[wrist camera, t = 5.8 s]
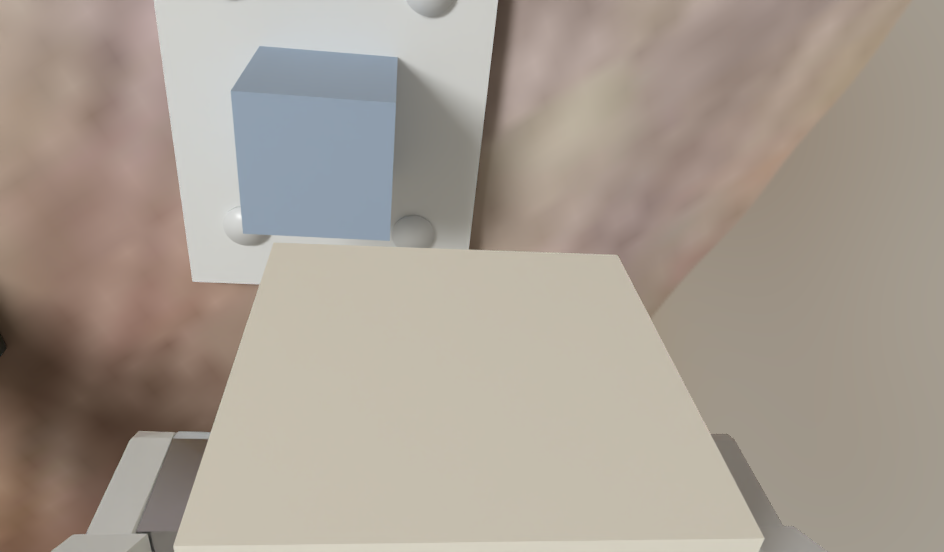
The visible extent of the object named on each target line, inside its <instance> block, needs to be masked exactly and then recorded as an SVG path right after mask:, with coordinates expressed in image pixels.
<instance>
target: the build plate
mask: <svg viewBox="0 0 944 552" xmlns="http://www.w3.org/2000/svg"><path fill="white" fill-rule="evenodd" d="M497 5H498V0H154V6H155V13H156V20H157V28H158V35H159V42H160V49H161V57H162V64H163V71H164V78H165V86H166V93H167V100H168V107H169V114H170V122H171V129H172V136H173V143H174V151H175V158H176V165H177V172H178V180H179V187H180V194H181V201H182V209H183V216H184V223H185V230H186V238H187V245H188V252H189V259H190V266H191V274H192V281H193V282H214V283H239V284H260V282H261V279H262V276H263V273H264V270H265V267H266V264H267V261H268V258H269V255H270V252H271V249H272V246H273V243H300V244H328V245H355V246H383V247H411V248H438V249H466V250H469V244H470V235H471V227H472V218H473V210H474V201H475V193H476V184H477V176H478V167H479V159H480V150H481V142H482V133H483V125H484V116H485V108H486V99H487V91H488V82H489V74H490V65H491V57H492V48H493V40H494V31H495V23H496V14H497ZM259 46H266V47H278V48H291V49H303V50H315V51H327V52H340V53H352V54H364V55H377V56H389V57H398V62H397V90H396V114H395V136H394V159H393V181H392V203H391V225H390V241H381V240H361V239H341V238H320V237H300V236H280V235H259V234H243V228H242V216H241V205H240V193H239V182H238V170H237V159H236V147H235V136H234V124H233V113H232V101H231V89H232V88H233V86H234V85H235V83H236V82H237V80H238V79H239V77H240V76H241V74H242V72H243V71H244V69H245V68H246V66H247V65H248V63H249V62H250V60H251V59H252V57H253V55H254V54H255V52H256V51H257V49H258V48H259Z"/></svg>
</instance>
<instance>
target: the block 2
mask: <svg viewBox="0 0 944 552" xmlns="http://www.w3.org/2000/svg"><path fill="white" fill-rule="evenodd" d="M764 539H765V538H764V536H763V534H762V532H761V530H760V528H759V526H758V525H757V523H756V521H755V519H754V517H753V515H752V513H751V511H750V509H749V507H748V505H747V503H746V501H745V500H744V498H743V496H742V494H741V492H740V490H739V488H738V486H737V484H736V482H735V480H734V478H733V476H732V475H731V473H730V471H729V469H728V467H727V465H726V463H725V461H724V459H723V457H722V455H721V453H720V451H719V449H718V448H717V446H716V444H715V442H714V440H713V438H712V436H711V434H710V432H709V430H708V428H707V426H706V424H705V423H704V421H703V419H702V417H701V415H700V413H699V411H698V409H697V407H696V405H695V403H694V401H693V399H692V398H691V396H690V394H689V392H688V390H687V388H686V386H685V384H684V382H683V380H682V378H681V376H680V374H679V372H678V371H677V369H676V367H675V365H674V363H673V361H672V359H671V357H670V355H669V353H668V351H667V350H666V348H665V346H664V344H663V342H662V340H661V338H660V336H659V334H658V332H657V330H656V328H655V326H654V324H653V323H652V321H651V319H650V317H649V315H648V313H647V311H646V309H645V307H644V305H643V303H642V301H641V299H640V297H639V295H638V294H637V292H636V290H635V288H634V286H633V284H632V282H631V280H630V278H629V276H628V274H627V272H626V270H625V269H624V267H623V265H622V263H621V261H620V259H619V257H618V255H605V254H577V253H549V252H522V251H494V250H466V249H438V248H411V247H383V246H355V245H328V244H300V243H273V246H272V249H271V252H270V255H269V258H268V261H267V264H266V267H265V270H264V273H263V276H262V279H261V282H260V285H259V288H258V291H257V294H256V297H255V300H254V303H253V306H252V309H251V312H250V315H249V318H248V321H247V324H246V327H245V330H244V333H243V336H242V339H241V342H240V346H239V349H238V352H237V355H236V358H235V361H234V364H233V367H232V370H231V373H230V376H229V379H228V382H227V385H226V388H225V391H224V394H223V397H222V400H221V403H220V406H219V409H218V412H217V415H216V418H215V421H214V424H213V427H212V430H211V433H210V436H209V439H208V442H207V445H206V448H205V451H204V454H203V457H202V460H201V463H200V466H199V469H198V472H197V475H196V478H195V481H194V484H193V487H192V490H191V493H190V496H189V499H188V502H187V506H186V509H185V512H184V515H183V518H182V521H181V524H180V527H179V530H178V533H177V536H176V539H175V542H174V545H173V548H174V552H759V550H760V547H761V545H762V543H763V541H764Z"/></svg>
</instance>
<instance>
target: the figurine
mask: <svg viewBox="0 0 944 552" xmlns="http://www.w3.org/2000/svg"><path fill="white" fill-rule="evenodd" d="M5 350H6V345H5V343H4V341H3V339H2V337H1V335H0V356H1V355H2V354H3V352H4V351H5Z"/></svg>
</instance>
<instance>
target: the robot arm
mask: <svg viewBox="0 0 944 552" xmlns="http://www.w3.org/2000/svg"><path fill="white" fill-rule="evenodd" d="M210 433H211V432H184V431H179V432H156V431H138V432H137V433H136V434H135V435H134V436H133V437H132V438H131V439H130V441H129V443H128V445H127V447H126V449H125V451H124V453H123V456H122V458H121V460H120V462H119V464H118V466H117V468H116V471H115V473H114V475H113V477H112V479H111V481H110V483H109V486H108V488H107V490H106V492H105V494H104V496H103V498H102V501H101V503H100V505H99V507H98V509H97V511H96V513H95V515H94V518H93V520H92V522H91V524H90V526H89V528H88V530H87V533H86V534H73V535H72V536H70V537H69V538H68V539H66V540H65V541H64V542H63V543H61V544H60V545H59V546H57V547H56V548H55V549H53V550H52V551H51V552H174V548H173V545H174V542H175V539H176V536H177V533H178V530H179V527H180V524H181V521H182V518H183V515H184V512H185V509H186V506H187V502H188V499H189V496H190V493H191V490H192V487H193V484H194V481H195V478H196V475H197V472H198V469H199V466H200V463H201V460H202V457H203V454H204V451H205V448H206V445H207V442H208V439H209V436H210ZM711 436H712V438H713V440H714V442H715V444H716V446H717V448H718V449H719V451H720V453H721V455H722V457H723V459H724V461H725V463H726V465H727V467H728V469H729V471H730V473H731V475H732V476H733V478H734V480H735V482H736V484H737V486H738V488H739V490H740V492H741V494H742V496H743V498H744V500H745V501H746V503H747V505H748V507H749V509H750V511H751V513H752V515H753V517H754V519H755V521H756V523H757V525H758V526H759V528H760V530H761V532H762V534H763V536H764V538H765V539H764V541H763V543H762V545H761V547H760V550H759V552H828V551H827V550H825V549H824V548H823V547H821V546H820V545H818V544H817V543H816V542H814V541H813V540H812V539H810V538H809V537H807V536H806V535H805V534H804V533H802V532H801V531H799V530H798V529H797V528H795V527H794V526H783V525H782V523H781V521H780V519H779V517H778V516H777V514H776V513H775V511H774V509H773V507H772V505H771V503H770V502H769V500H768V498H767V496H766V495H765V493H764V491H763V489H762V488H761V486H760V484H759V482H758V480H757V479H756V477H755V475H754V473H753V472H752V470H751V468H750V466H749V465H748V463H747V461H746V459H745V458H744V456H743V454H742V453H741V450H740V449H739V447H738V445H737V443H736V442H735V440H734V439H733V438H731V436H729V435H728V434H711Z"/></svg>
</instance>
